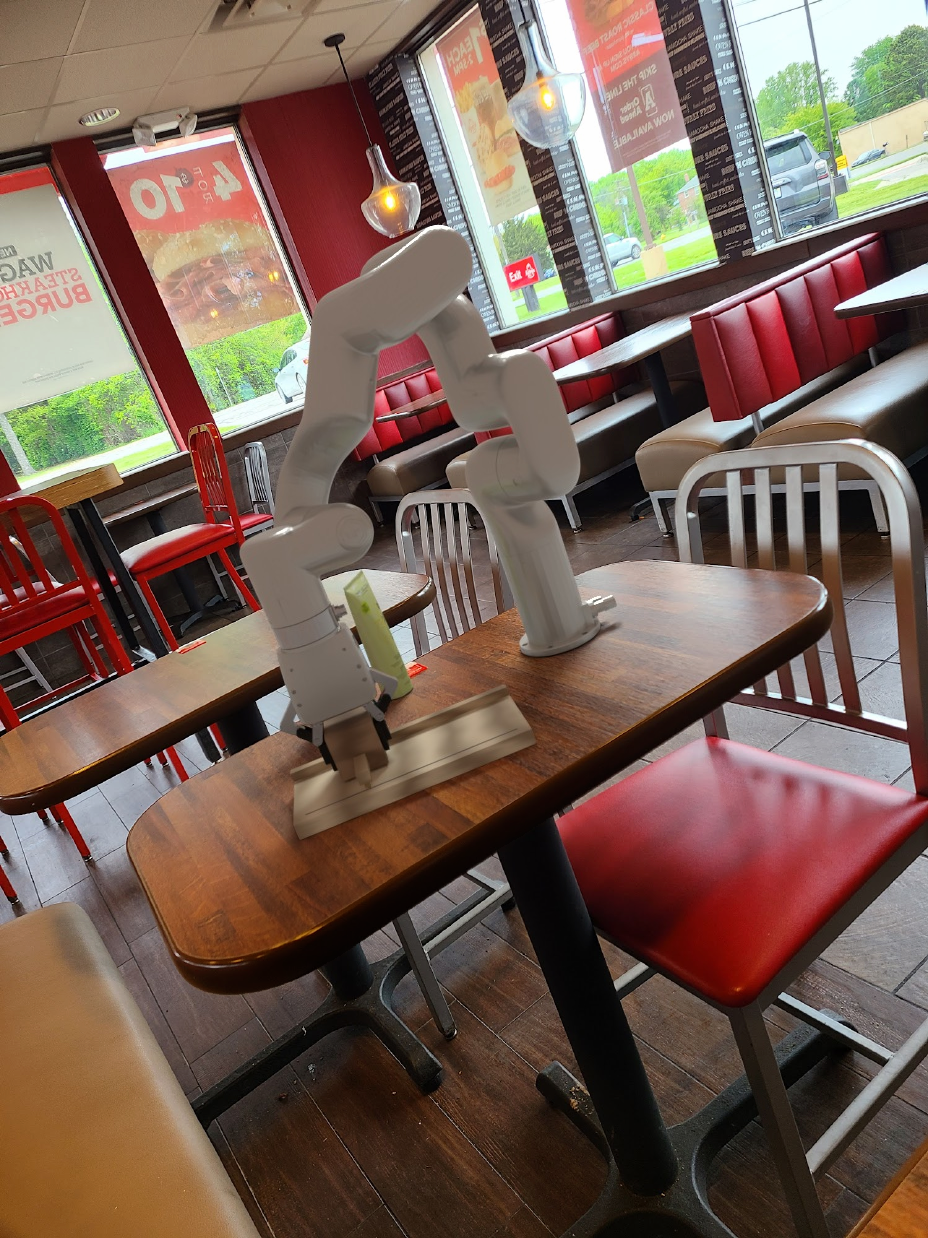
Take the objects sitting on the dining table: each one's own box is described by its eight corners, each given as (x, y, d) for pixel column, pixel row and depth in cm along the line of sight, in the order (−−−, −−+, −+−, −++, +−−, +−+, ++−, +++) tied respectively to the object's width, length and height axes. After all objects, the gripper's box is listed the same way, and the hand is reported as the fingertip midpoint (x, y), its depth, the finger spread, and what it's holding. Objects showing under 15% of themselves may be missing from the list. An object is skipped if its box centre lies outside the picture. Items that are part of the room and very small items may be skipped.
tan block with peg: (384, 744, 113) (367, 703, 111) (393, 780, 103) (374, 737, 101) (341, 761, 113) (323, 721, 111) (345, 800, 102) (325, 757, 100)
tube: (420, 690, 133) (373, 572, 127) (391, 705, 131) (342, 587, 125) (406, 681, 138) (361, 568, 132) (378, 696, 136) (331, 582, 130)
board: (511, 704, 116) (504, 684, 116) (536, 743, 104) (528, 720, 103) (300, 790, 114) (290, 770, 113) (300, 840, 102) (289, 817, 101)
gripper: (371, 594, 108) (421, 719, 114) (240, 646, 107) (297, 769, 113) (376, 609, 101) (429, 742, 107) (236, 665, 100) (296, 796, 106)
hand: (361, 755), depth 110 cm, fingers closed on tan block with peg, 6 cm apart
